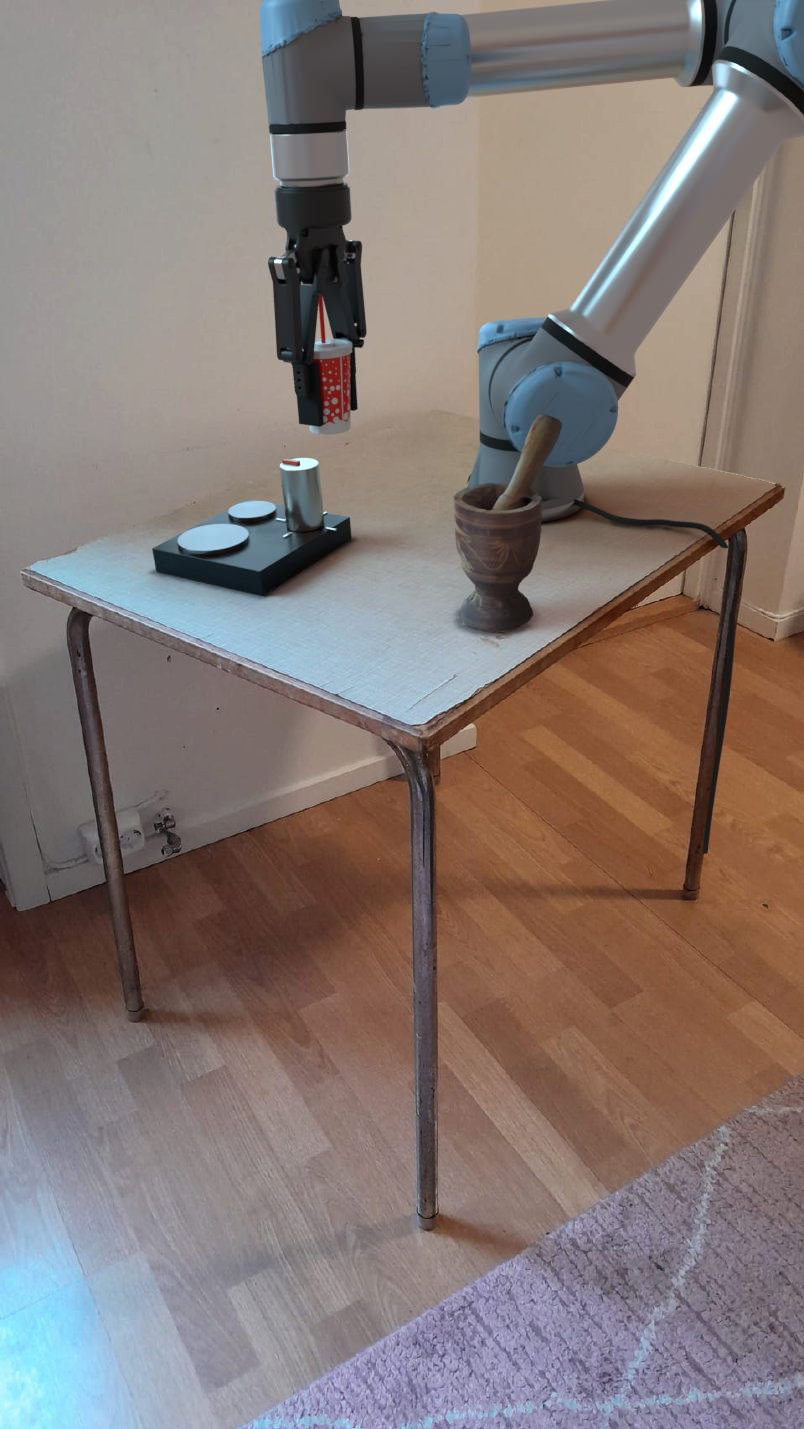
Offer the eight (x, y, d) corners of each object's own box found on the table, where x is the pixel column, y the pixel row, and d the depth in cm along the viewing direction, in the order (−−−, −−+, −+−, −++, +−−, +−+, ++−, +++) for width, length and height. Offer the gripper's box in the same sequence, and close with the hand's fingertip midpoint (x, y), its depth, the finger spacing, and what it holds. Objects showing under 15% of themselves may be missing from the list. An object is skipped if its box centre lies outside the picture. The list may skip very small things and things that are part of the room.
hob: (358, 541, 129) (356, 516, 127) (269, 597, 116) (266, 571, 114) (250, 521, 136) (247, 497, 135) (156, 572, 124) (151, 547, 122)
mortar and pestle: (497, 583, 116) (497, 402, 106) (567, 599, 112) (574, 412, 101) (441, 624, 108) (435, 432, 98) (514, 643, 104) (516, 444, 93)
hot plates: (303, 512, 130) (303, 507, 129) (218, 560, 118) (217, 555, 118) (248, 502, 134) (247, 498, 133) (160, 548, 122) (160, 543, 122)
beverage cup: (334, 417, 119) (325, 287, 112) (368, 428, 115) (361, 293, 108) (291, 429, 116) (278, 295, 109) (324, 440, 112) (314, 302, 105)
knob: (332, 521, 126) (326, 458, 122) (310, 534, 123) (303, 469, 119) (301, 515, 129) (294, 453, 125) (278, 528, 125) (271, 465, 121)
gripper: (334, 173, 112) (348, 392, 124) (220, 191, 98) (248, 435, 110) (393, 173, 108) (402, 398, 120) (285, 192, 94) (306, 444, 106)
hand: (328, 416), depth 115 cm, fingers closed on beverage cup, 6 cm apart
